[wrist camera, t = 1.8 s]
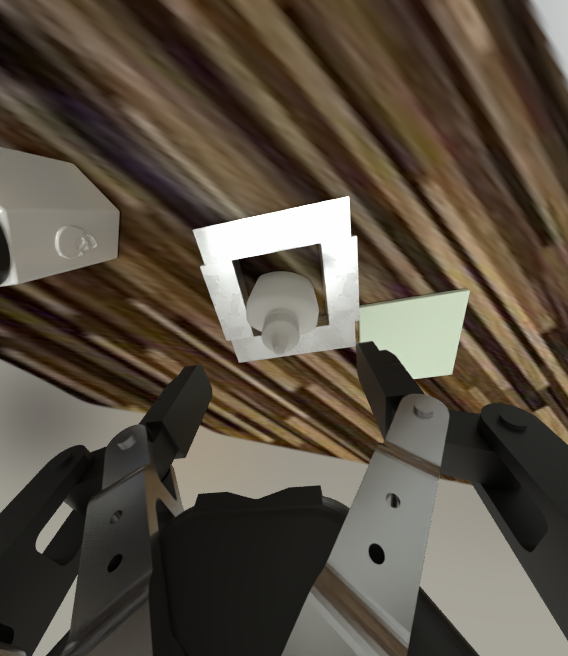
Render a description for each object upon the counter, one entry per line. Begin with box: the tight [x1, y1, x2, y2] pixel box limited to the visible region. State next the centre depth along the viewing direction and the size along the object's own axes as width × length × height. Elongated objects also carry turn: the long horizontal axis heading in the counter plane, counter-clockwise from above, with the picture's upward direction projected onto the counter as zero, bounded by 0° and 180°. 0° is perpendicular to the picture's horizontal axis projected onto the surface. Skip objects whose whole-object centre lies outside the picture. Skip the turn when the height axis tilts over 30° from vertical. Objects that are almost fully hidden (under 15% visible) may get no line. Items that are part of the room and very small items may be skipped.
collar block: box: [193, 196, 360, 362], centre depth 22 cm, size 14×14×2 cm
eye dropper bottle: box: [246, 271, 319, 355], centre depth 18 cm, size 4×6×12 cm
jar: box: [0, 147, 120, 287], centre depth 15 cm, size 9×8×12 cm
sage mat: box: [358, 289, 470, 379], centre depth 25 cm, size 11×11×1 cm
